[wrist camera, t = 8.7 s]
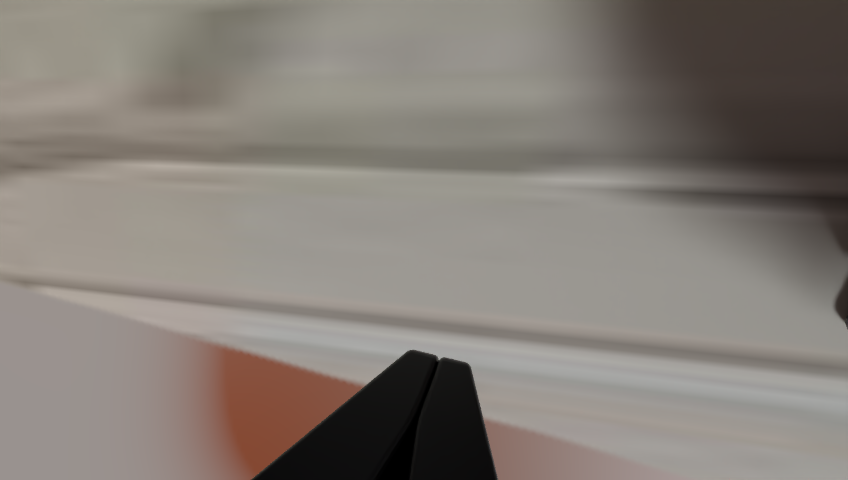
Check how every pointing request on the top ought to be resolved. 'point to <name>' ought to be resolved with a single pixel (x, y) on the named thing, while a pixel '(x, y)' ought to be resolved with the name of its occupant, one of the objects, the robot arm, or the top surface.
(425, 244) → the top surface
